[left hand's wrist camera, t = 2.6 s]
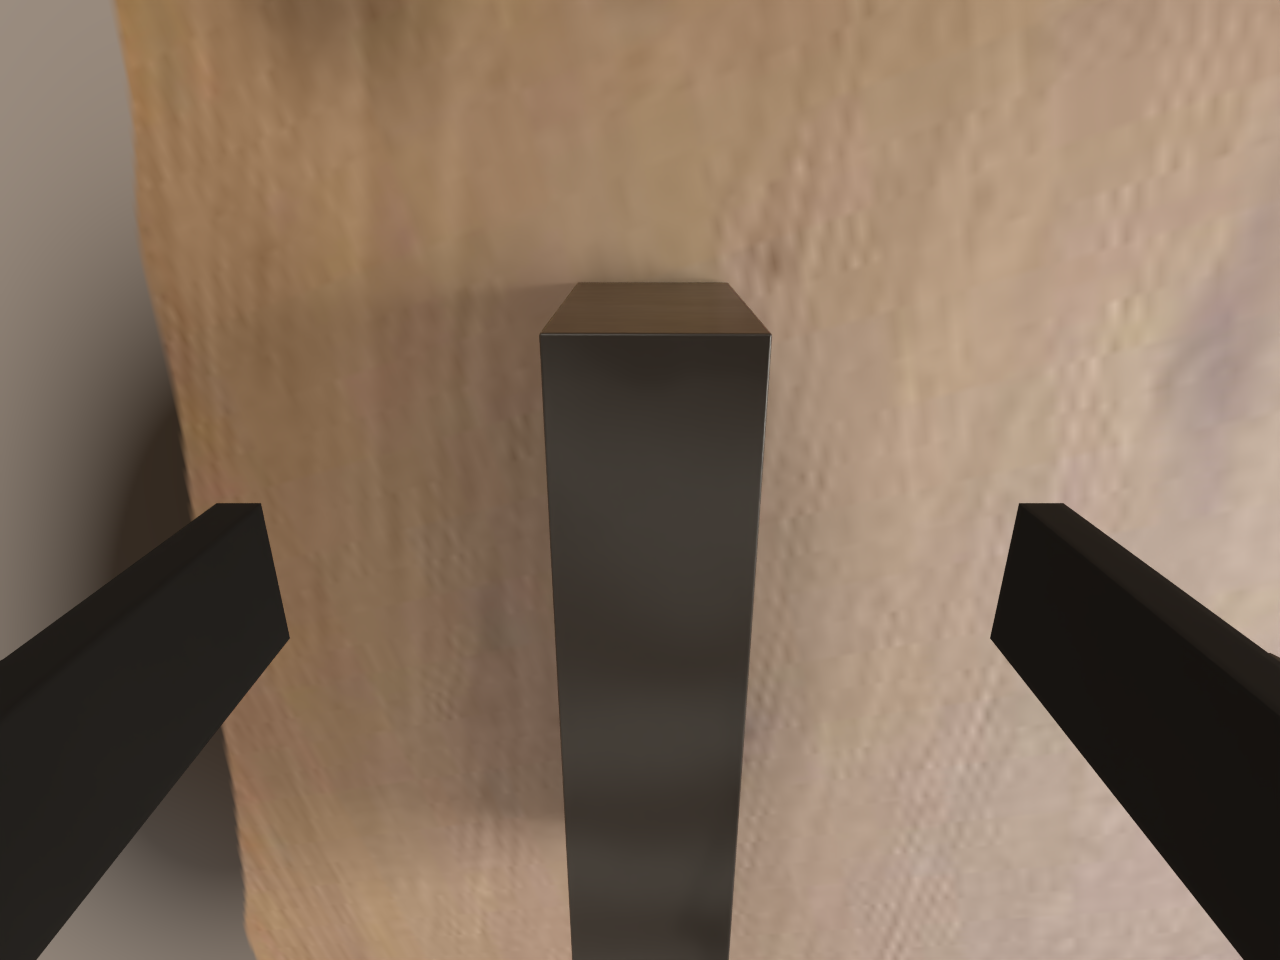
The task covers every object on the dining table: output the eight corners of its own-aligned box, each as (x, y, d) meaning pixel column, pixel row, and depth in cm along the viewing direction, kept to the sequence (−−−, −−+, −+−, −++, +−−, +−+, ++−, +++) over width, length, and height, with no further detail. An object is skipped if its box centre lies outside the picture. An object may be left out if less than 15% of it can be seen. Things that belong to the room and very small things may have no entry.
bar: (577, 282, 24) (538, 332, 15) (728, 282, 24) (773, 333, 15) (594, 823, 33) (576, 1040, 24) (704, 824, 33) (723, 1042, 24)
